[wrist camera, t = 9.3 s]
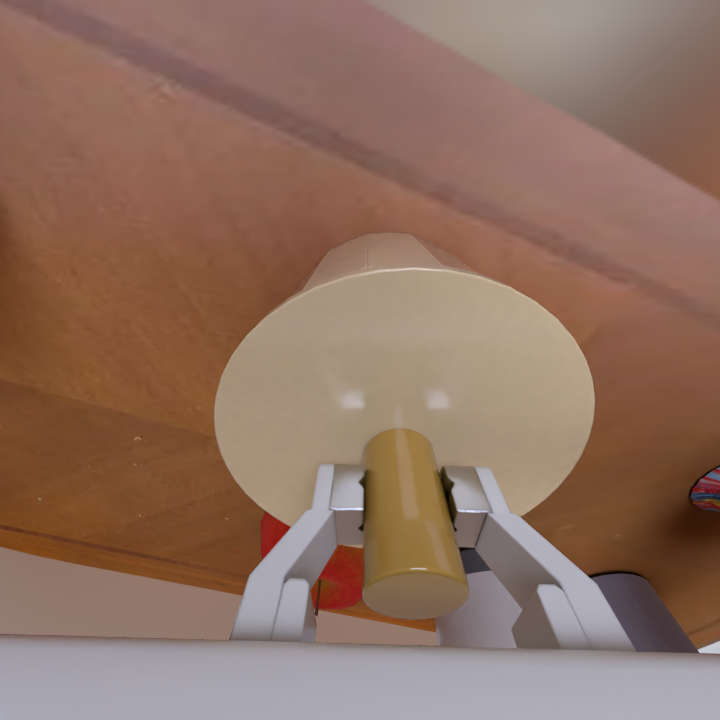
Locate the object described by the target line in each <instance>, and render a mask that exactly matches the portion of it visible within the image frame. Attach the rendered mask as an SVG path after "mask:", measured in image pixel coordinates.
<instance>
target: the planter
mask: <svg viewBox="0 0 720 720" xmlns="http://www.w3.org/2000/svg"><path fill="white" fill-rule="evenodd" d="M460 554H461V558H462V562H463V565H464V569H465V573H466V577H467V581H468V585H469V591H470V592H469V598H468V600H467V602H466V603H465V604H464V605H463V606H462V607H460V608H459V609H457V610H455V611H453V612H451V613H449V614H446V615H443V616H439V617H435V618H434V620H435V627H436V633H437V640H438V646H457V647H493V648H517V646H516V643H515V640H514V636H513V633H512V630H511V629H512V627H513V625H514V623H515V622H516V620H517V618H518V617H519V615H520V613H521V612H522V608H521V607H520V606H519V605H518V603H517V602H516V601H515V600H514V598H513V597H512V596H511V594H510V593H509V592H508V591H507V589H506V588H505V587H504V586H503V584H502V583H501V582H500V581H499V579H498V578H497V577H496V575H495V574H494V573H493V572H492V570H491V569H490V568H489V567H488V565H487V564H486V563H485V562H484V560H483V559H482V558H481V556H480V555H479V554H478V553H477V551H476V550H475V548H466V549H463V550H460Z"/></svg>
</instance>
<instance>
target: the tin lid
mask: <svg viewBox="0 0 720 720" xmlns="http://www.w3.org/2000/svg"><path fill="white" fill-rule="evenodd" d="M594 407H595V396H594V388H593V380H592V376H591V373H590V370H589V367H588V364H587V361H586V359H585V356H584V355H583V353H582V351H581V349H580V348H579V346H578V344H577V342H576V341H575V339H574V337H573V336H572V335H571V334H570V333H569V332H568V330H567V329H566V328H565V327H564V326H563V325H562V323H561V322H560V321H559V320H558V319H557V318H556V317H555V316H553V315H552V314H551V313H550V312H548V311H547V310H546V309H545V308H543V307H542V306H541V305H540V304H539V303H537V302H536V301H535V300H533V299H531V298H530V297H528V296H527V295H525V294H523V293H521V292H519V291H518V290H516V289H514V288H512V287H510V286H509V285H507V284H505V283H503V282H501V281H498V280H495V279H492V278H490V277H487V276H484V275H482V274H479V273H476V272H472V271H468V270H463V269H458V268H453V267H449V266H443V265H429V264H415V263H409V264H394V265H379V266H374V267H369V268H364V269H359V270H354V271H349V272H346V273H343V274H340V275H337V276H335V277H332V278H329V279H326V280H323V281H320V282H318V283H316V284H314V285H312V286H310V287H308V288H306V289H304V290H302V291H300V292H298V293H296V294H294V295H292V296H291V297H290V298H288V299H287V300H285V301H284V302H282V303H281V304H280V305H278V306H277V307H275V308H274V309H273V310H271V311H270V312H269V313H268V314H267V315H266V316H265V317H264V318H263V319H262V320H261V321H260V322H259V323H257V324H256V325H255V326H254V327H253V328H252V329H251V331H250V332H249V333H248V334H247V335H246V337H245V338H244V339H243V341H242V342H241V343H240V345H239V346H238V347H237V349H236V350H235V351H234V353H233V354H232V356H231V358H230V360H229V362H228V364H227V366H226V368H225V370H224V372H223V374H222V376H221V380H220V383H219V386H218V390H217V393H216V400H215V409H214V423H215V434H216V438H217V442H218V446H219V450H220V453H221V455H222V457H223V460H224V462H225V464H226V466H227V468H228V470H229V471H230V473H231V475H232V476H233V478H234V479H235V481H236V482H237V483H238V485H239V486H240V487H241V488H242V489H243V491H244V492H245V493H246V494H247V495H248V496H249V497H250V498H251V499H252V500H253V501H254V502H255V503H256V504H257V505H258V506H260V507H261V508H262V509H264V510H265V511H266V512H268V513H269V514H270V515H272V516H273V517H275V518H276V519H278V520H280V521H281V522H283V523H285V524H286V525H288V526H290V527H292V526H293V524H294V523H295V522H296V521H297V520H298V519H299V517H300V516H301V515H302V514H303V513H304V512H305V511H306V509H311V507H312V501H313V496H314V490H315V484H316V479H317V473H318V468H319V465H320V464H344V465H364V524H363V533H362V545H345V546H350V547H355V548H362V597H363V600H364V602H365V603H366V605H367V606H368V607H369V608H371V609H372V610H374V611H376V612H378V613H380V614H383V615H386V616H389V617H393V618H399V619H410V620H418V619H430V618H435V617H439V616H443V615H446V614H449V613H451V612H453V611H455V610H457V609H459V608H460V607H462V606H463V605H464V604H465V603H466V602H467V600H468V598H469V592H470V591H469V585H468V581H467V577H466V573H465V569H464V565H463V562H462V558H461V554H460V550H459V546H458V542H457V538H456V535H455V531H454V527H453V523H452V519H451V515H450V511H449V508H448V504H447V500H446V496H445V492H444V488H443V484H442V480H441V476H440V471H441V468H442V466H472V467H473V466H478V467H489V468H490V469H491V470H492V473H493V475H494V477H495V479H496V481H497V484H498V486H499V488H500V490H501V492H502V495H503V497H504V499H505V501H506V503H507V505H508V508H509V510H510V512H511V513H516V514H517V515H518V516H519V517H521V516H523V515H524V514H526V513H528V512H529V511H531V510H532V509H533V508H535V507H536V506H537V505H538V504H540V503H541V502H542V501H544V500H545V499H546V498H547V497H548V496H549V495H550V494H551V493H552V492H554V491H555V490H556V489H557V488H558V487H559V486H560V485H561V483H562V482H563V481H564V480H565V479H566V477H567V476H568V475H569V474H570V473H571V471H572V470H573V468H574V466H575V465H576V463H577V462H578V460H579V458H580V457H581V455H582V453H583V451H584V448H585V446H586V444H587V441H588V439H589V436H590V432H591V428H592V424H593V420H594Z"/></svg>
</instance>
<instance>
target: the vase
mask: <svg viewBox="0 0 720 720" xmlns="http://www.w3.org/2000/svg"><path fill="white" fill-rule="evenodd" d="M690 497H691V499H692V503H693V504H694V505H696V506H698V507H699V508H701V509H705V510H710V511H718V512H720V467H719V468H717V469H715V470H712V471H711V472H710V473H709V474H707V475H706V476H705V477H703V478H702V479H700V480H699V482H698V483H697V485H696V486H695V487H694V488H693V489H692V494H691V496H690Z"/></svg>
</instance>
